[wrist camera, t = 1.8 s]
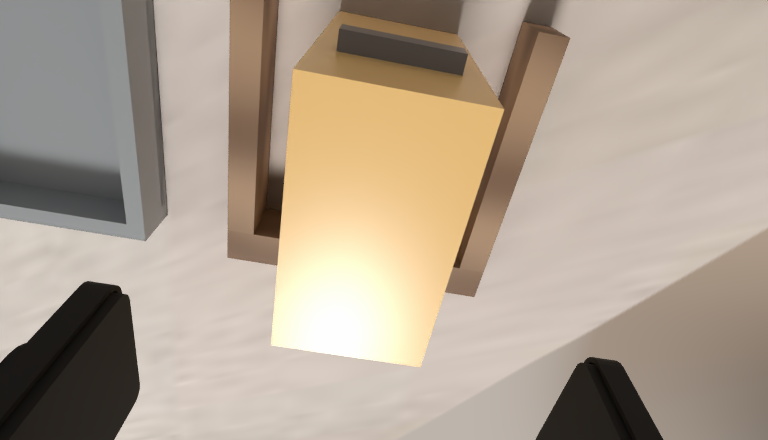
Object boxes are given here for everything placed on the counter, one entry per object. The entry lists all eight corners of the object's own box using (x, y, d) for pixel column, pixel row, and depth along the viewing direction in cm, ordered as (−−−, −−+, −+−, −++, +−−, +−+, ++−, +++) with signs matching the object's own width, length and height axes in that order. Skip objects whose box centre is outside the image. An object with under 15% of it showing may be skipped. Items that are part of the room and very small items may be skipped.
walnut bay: (250, -35, 18) (230, -32, 16) (551, 27, 19) (570, 38, 17) (242, 230, 25) (227, 257, 23) (467, 267, 26) (474, 296, 24)
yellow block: (341, -6, 19) (295, 41, 10) (461, 19, 19) (512, 84, 11) (316, 199, 24) (271, 345, 15) (412, 215, 24) (420, 367, 16)
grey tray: (-134, -158, 17) (-213, -173, 14) (145, -99, 17) (110, -104, 15) (-29, 182, 24) (-71, 206, 22) (167, 214, 24) (145, 241, 22)
